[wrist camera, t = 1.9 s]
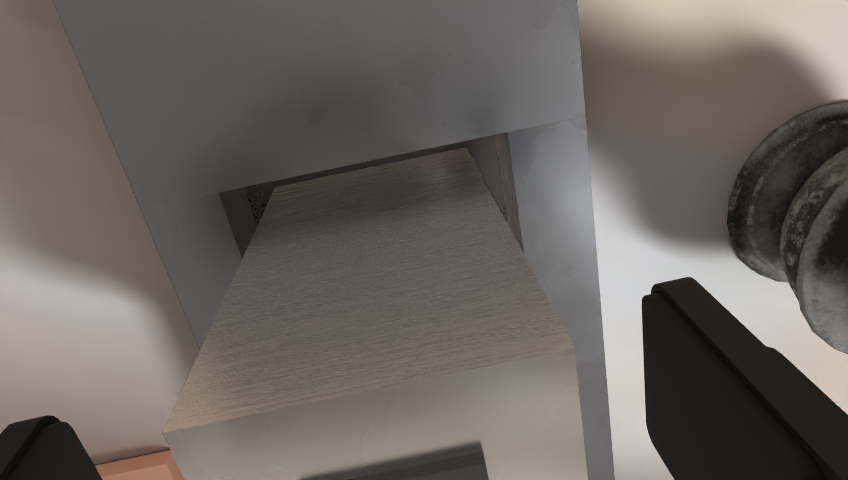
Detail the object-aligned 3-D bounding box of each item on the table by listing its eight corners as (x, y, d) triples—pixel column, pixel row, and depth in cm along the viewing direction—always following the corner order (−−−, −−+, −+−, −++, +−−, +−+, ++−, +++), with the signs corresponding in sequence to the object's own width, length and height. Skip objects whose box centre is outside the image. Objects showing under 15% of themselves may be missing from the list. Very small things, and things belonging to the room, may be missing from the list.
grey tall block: (493, 311, 17) (606, 627, 9) (325, 346, 17) (281, 693, 9) (466, 147, 15) (580, 358, 7) (275, 187, 15) (156, 445, 7)
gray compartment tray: (604, 560, 22) (626, 616, 20) (339, 614, 22) (335, 675, 20) (528, -231, 12) (557, -270, 10) (48, -128, 12) (-13, -147, 10)
